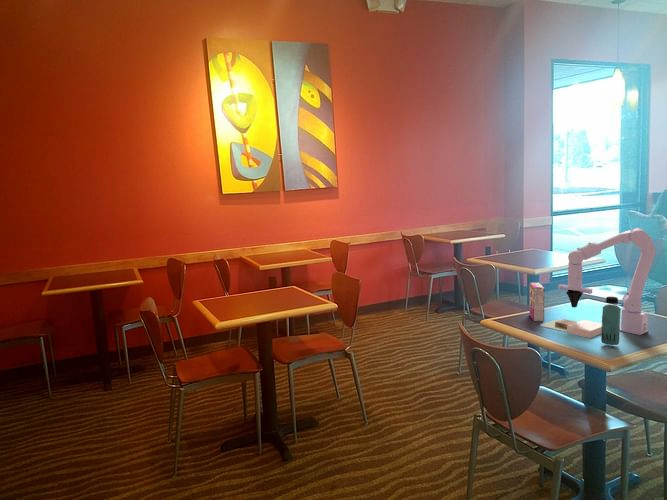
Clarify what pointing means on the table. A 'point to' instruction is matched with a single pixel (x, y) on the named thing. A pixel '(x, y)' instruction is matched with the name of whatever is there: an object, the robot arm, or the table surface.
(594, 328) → the pale pink flat block
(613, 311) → the beverage bottle
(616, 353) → the table surface
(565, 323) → the walnut tile
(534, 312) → the candy bar box
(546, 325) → the mat
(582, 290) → the robot arm
